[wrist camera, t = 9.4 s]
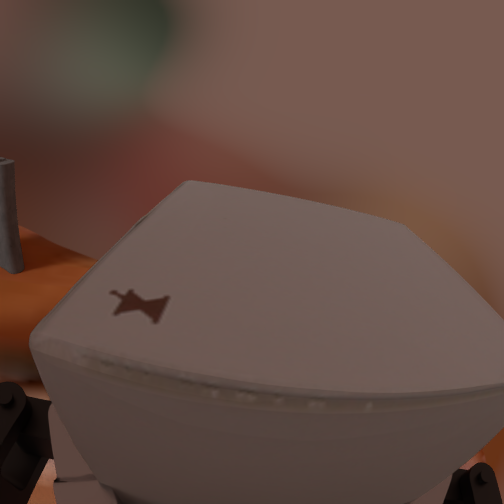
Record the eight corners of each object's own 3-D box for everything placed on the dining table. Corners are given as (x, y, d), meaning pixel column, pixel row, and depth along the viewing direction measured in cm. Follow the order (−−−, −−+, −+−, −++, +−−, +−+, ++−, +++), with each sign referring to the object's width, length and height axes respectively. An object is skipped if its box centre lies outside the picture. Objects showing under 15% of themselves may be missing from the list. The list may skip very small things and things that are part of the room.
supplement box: (310, 554, 7) (563, 379, 2) (139, 537, 7) (-6, 324, 2) (303, 435, 14) (409, 220, 9) (169, 416, 14) (182, 170, 9)
